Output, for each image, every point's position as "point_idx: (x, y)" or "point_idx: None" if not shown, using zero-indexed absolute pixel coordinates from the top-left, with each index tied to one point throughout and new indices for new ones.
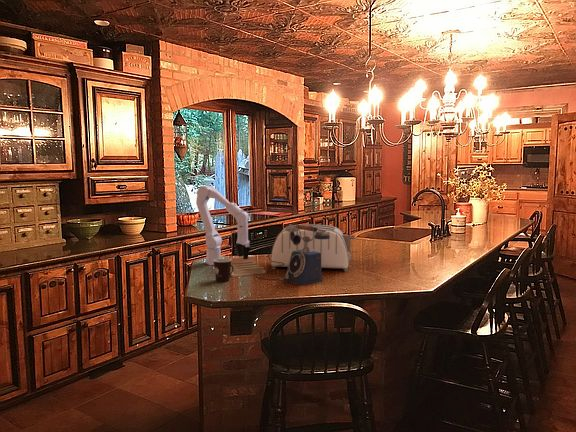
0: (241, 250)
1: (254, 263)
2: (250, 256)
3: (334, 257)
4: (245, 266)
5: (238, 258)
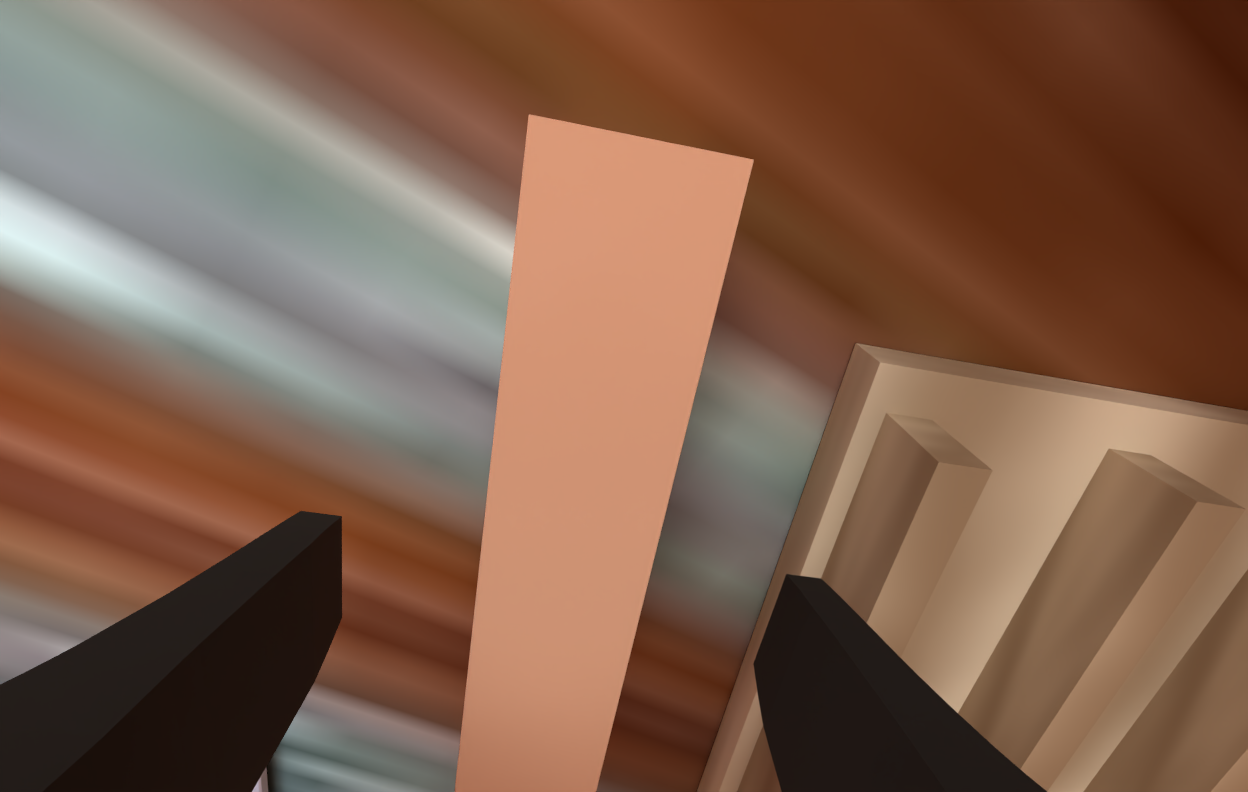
0: (173, 765)
1: (1212, 553)
2: (657, 385)
3: None
4: None
5: (602, 745)
